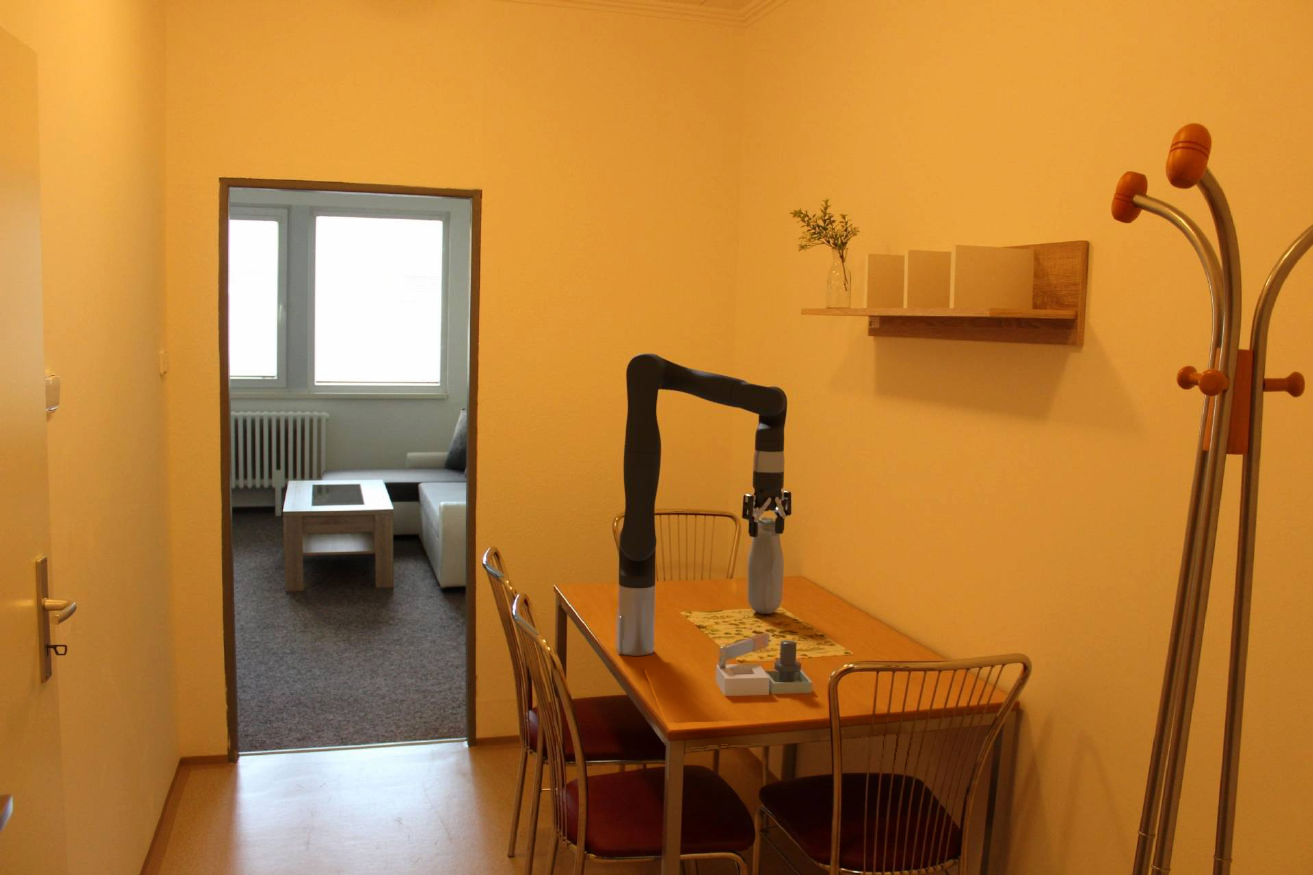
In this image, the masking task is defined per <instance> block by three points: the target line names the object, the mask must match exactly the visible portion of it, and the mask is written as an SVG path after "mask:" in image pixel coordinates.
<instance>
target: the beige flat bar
mask: <svg viewBox="0 0 1313 875" xmlns="http://www.w3.org/2000/svg"><path fill="white" fill-rule="evenodd" d="M769 643H770V634H769V633H767V632H762V633H759V634H756V635H752V636H750V637H748V638H745V639H742V640H739V641H736V642H734V643H729V644H727V645H725V646H719V649H718V651H719V652H718V653H719V654H718V665H719V668H726V665H727V661H729V660H732V659H736V658H739V657H741V656H744V655H748V654H749V653H755V652H757V651H760V650H764V649H766V648H768V647H770V644H769Z"/></svg>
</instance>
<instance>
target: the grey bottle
mask: <svg viewBox="0 0 1313 875" xmlns="http://www.w3.org/2000/svg"><path fill="white" fill-rule="evenodd" d="M757 522H758V536H757V537H751V538H752V540H751V544H750V548H749V552H748V556H747V588H746V589H747V595H746V596H747V601H748V604H749V606H750V608H751V609H752V610H753V611H754V612H756V613H758V614H761V615H770V614H773V613H775V612H777V610H778V609H779V608H780V606H781V604H782V600H783V588H784V585H783V584H784V572H785V571H784V569H785V568H784V565H785V563H784V553H783V552H784V551H783V549H782V543H781V534H778V533H775V519H774V518H771V517H759V519H758V521H757Z"/></svg>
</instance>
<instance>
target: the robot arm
mask: <svg viewBox="0 0 1313 875" xmlns="http://www.w3.org/2000/svg"><path fill="white" fill-rule="evenodd" d="M625 376H626V377H625V379H626V396H627V411H626V412H627V413H626V423H625V424H626V425H625V433H624V434H625V438H624V450H623V462H622V463H623V470H622V471H623V485H624V486H623V488H624V489H623V490H624V499H625V501H624V502H625V503H624V504H625V505H624V516H623V523H622V528H621V530H620V532H619V537H618V538H619V540H618V541H619V542H618V543H619V547H618V549H619V550H618V552H619V553H618V604H617V605H618V606H617V607H618V608H617V612H616V649H617V650H616V651H617V653H618V654H619V655H627V656H634V657H635V656H636V657H638V656H647V655H650V654H653V653H654V651H655V611H656V607H655V605H656V604H655V603H656V548H657V534H656V516H655V514H656V513H655V508H656V500H657V493H658V488H659V482H660V481H659V480H660V479H659V478H660V475H661V474H660V473H661V464H662V463H661V460H662V438H661V431H660V428H659V422H658V416H657V415H658V414H657V406H658V396H659V390H663V391H674V392H680V393H685V394H689V395H690V396H693V397H696V398H700V399H702V400H704V401H708V402H711V403H714V404H719V405H722V406H727V407H731V408H738V409H742V410H744V411H747V412H751V413H753V414H756V415H758V424H757V425H758V426H757V428H756V430H755V438H754V454H753V462H752V465H753V466H752V487H753V490H754V492H753V494H748V493H747V494H743V498H742V500H743V501H742V511H741V512H742V513H741V518H742V519H744V520H746V521H748V536H749V537H750V538H753V537H757V536H758V522H757V521H758V519H760V518H761V516H762V515H764V513H765V512H769V511H771V512H772V513H773V514H774V516H775V519H774V520H775V533H778V534H780V535H782V534H784V530H785V519H786V518H787V517H788V516H789V517H790V516H791V515H792V492H791V491H787V490H783V489H784V487H785V486H784V480H785V426H786V421H787V420H786V419H787V413H788V412H787V411H788V398H787V395H786V393H785V391H784V390H783V389H782V388H781V387H778V386H774V385H773V386H765V385H760V384H755V383H750V382H748V381H747V380H744V379H741V378H737V377H732V376H728V375H724V374H719V373H713V372H708V371H702V370H698V369H694V368H690V367H687V366H683V365H680V364H678V363H676V362H673V361H670V360H668V359H666V358H663V357H661V356H660V355H658V354H655V353H638V354H637V355H635V356H633V357H632V358H631V359H630V360H629V362H628V364H627V366H626V372H625Z"/></svg>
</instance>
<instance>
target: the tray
mask: <svg viewBox="0 0 1313 875" xmlns="http://www.w3.org/2000/svg"><path fill="white" fill-rule="evenodd" d="M764 671H765V672H766V674H767V675H768V676H769V692H771V693H772V694H773V695H774V694H775V695H776V694H777V695H779V694H780V695H781V694H783V695H785V694H811V693H813V680H811V679H810V678H809V677H808V676H807V674H806V673H805V672H804V671H803V669H801V671H799V672H796V676H795V682H779V675H780V672H779V671H777V670H775V669H774V670H764Z"/></svg>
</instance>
